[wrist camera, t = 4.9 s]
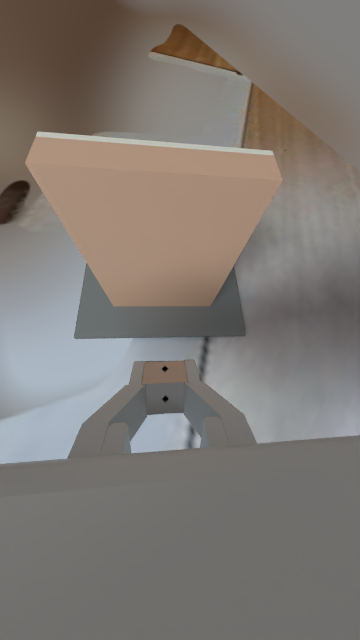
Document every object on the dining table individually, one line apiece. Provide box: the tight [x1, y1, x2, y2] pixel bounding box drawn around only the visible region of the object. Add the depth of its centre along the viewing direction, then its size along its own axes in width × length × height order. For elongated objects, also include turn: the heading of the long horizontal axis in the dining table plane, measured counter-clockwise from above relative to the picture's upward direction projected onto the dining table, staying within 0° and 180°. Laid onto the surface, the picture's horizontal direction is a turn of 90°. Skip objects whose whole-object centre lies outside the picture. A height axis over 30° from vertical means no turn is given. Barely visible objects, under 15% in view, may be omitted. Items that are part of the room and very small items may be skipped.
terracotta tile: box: [25, 132, 283, 306], centre depth 16 cm, size 2×12×15 cm, turn 92°
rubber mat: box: [74, 263, 246, 339], centre depth 26 cm, size 24×20×1 cm
